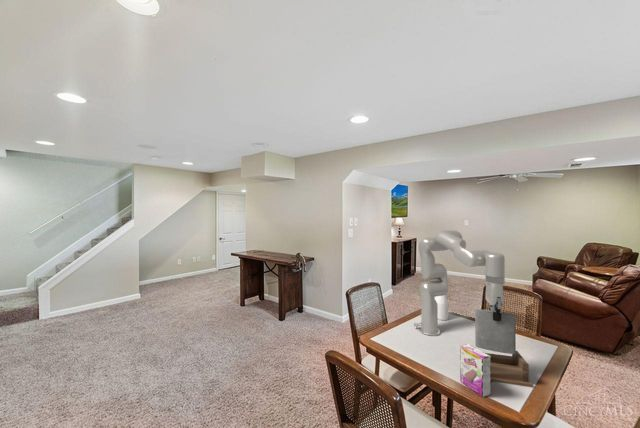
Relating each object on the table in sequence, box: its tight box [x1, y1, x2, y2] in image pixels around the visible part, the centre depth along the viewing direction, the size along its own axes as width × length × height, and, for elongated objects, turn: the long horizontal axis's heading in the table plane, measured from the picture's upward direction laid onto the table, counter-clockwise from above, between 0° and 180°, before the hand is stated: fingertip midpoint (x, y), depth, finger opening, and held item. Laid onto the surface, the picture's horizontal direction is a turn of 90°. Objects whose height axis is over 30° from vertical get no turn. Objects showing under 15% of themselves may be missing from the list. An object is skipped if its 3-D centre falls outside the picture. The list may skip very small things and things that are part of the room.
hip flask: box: [474, 306, 517, 355], centre depth 125 cm, size 16×4×20 cm, turn 64°
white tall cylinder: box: [434, 294, 449, 321], centre depth 190 cm, size 10×10×30 cm
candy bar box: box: [459, 343, 492, 398], centre depth 114 cm, size 11×5×16 cm, turn 21°
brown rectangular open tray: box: [484, 350, 534, 388], centre depth 125 cm, size 15×24×9 cm, turn 73°
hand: (495, 318), depth 125 cm, fingers closed on hip flask, 4 cm apart
